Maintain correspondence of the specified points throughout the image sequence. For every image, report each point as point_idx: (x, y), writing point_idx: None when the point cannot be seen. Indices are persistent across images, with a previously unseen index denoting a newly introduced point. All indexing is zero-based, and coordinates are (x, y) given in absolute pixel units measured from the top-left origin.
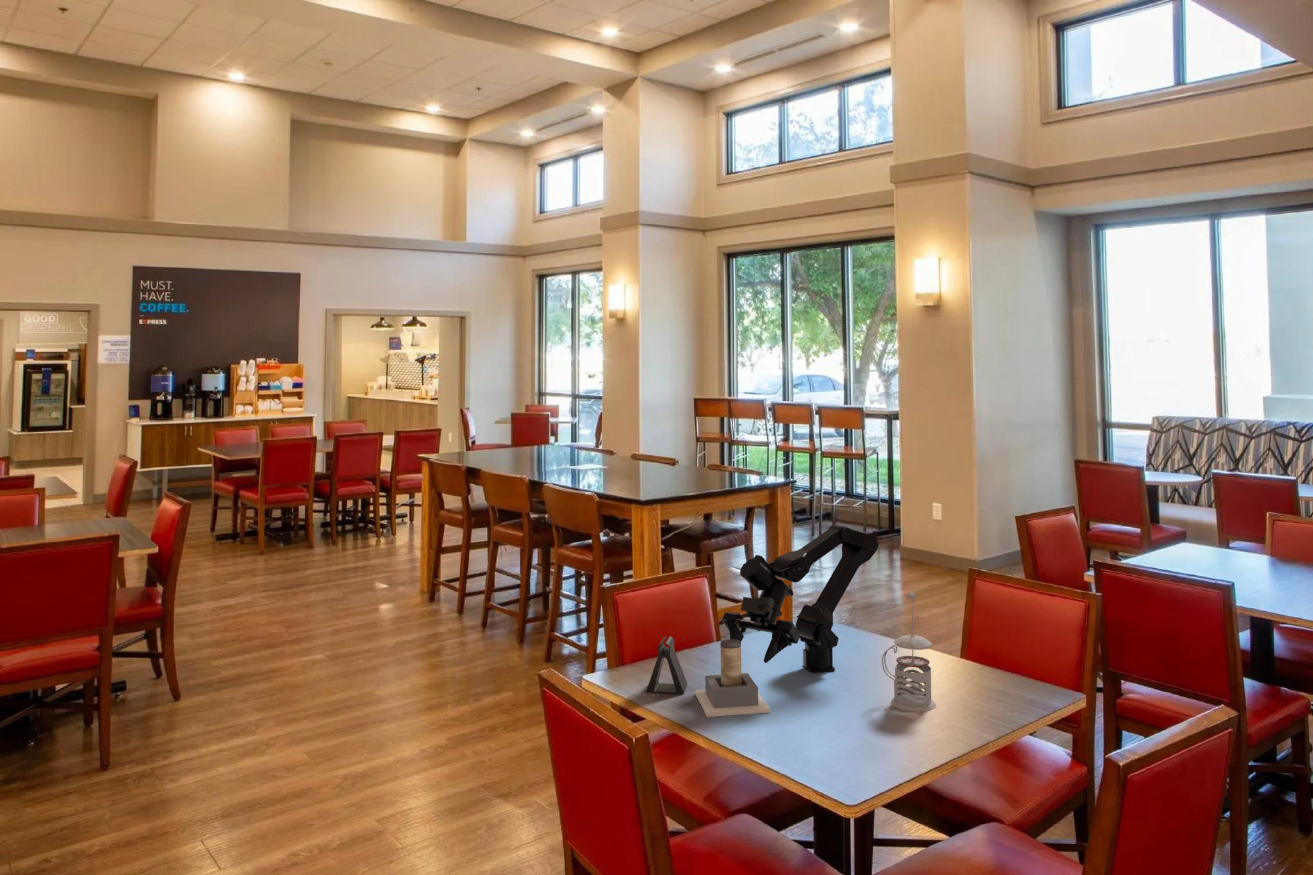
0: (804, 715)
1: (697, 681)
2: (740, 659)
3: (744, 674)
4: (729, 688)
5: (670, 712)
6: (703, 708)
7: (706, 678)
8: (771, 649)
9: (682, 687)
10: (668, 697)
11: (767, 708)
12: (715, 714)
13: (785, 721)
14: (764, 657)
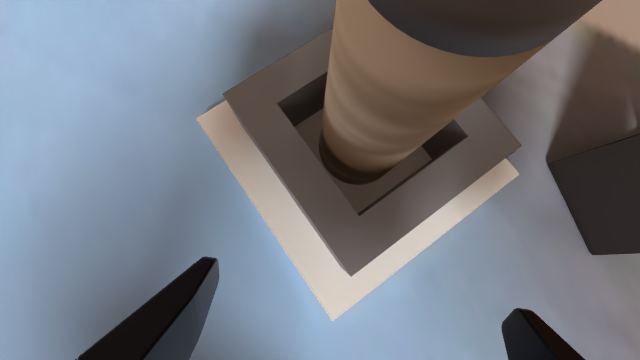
0: (77, 148)
1: (585, 320)
2: (332, 49)
3: (356, 246)
4: None
5: None
6: None
7: (497, 119)
8: (98, 341)
9: (573, 164)
10: (570, 117)
11: (203, 115)
12: None
13: (130, 76)
14: (203, 273)
